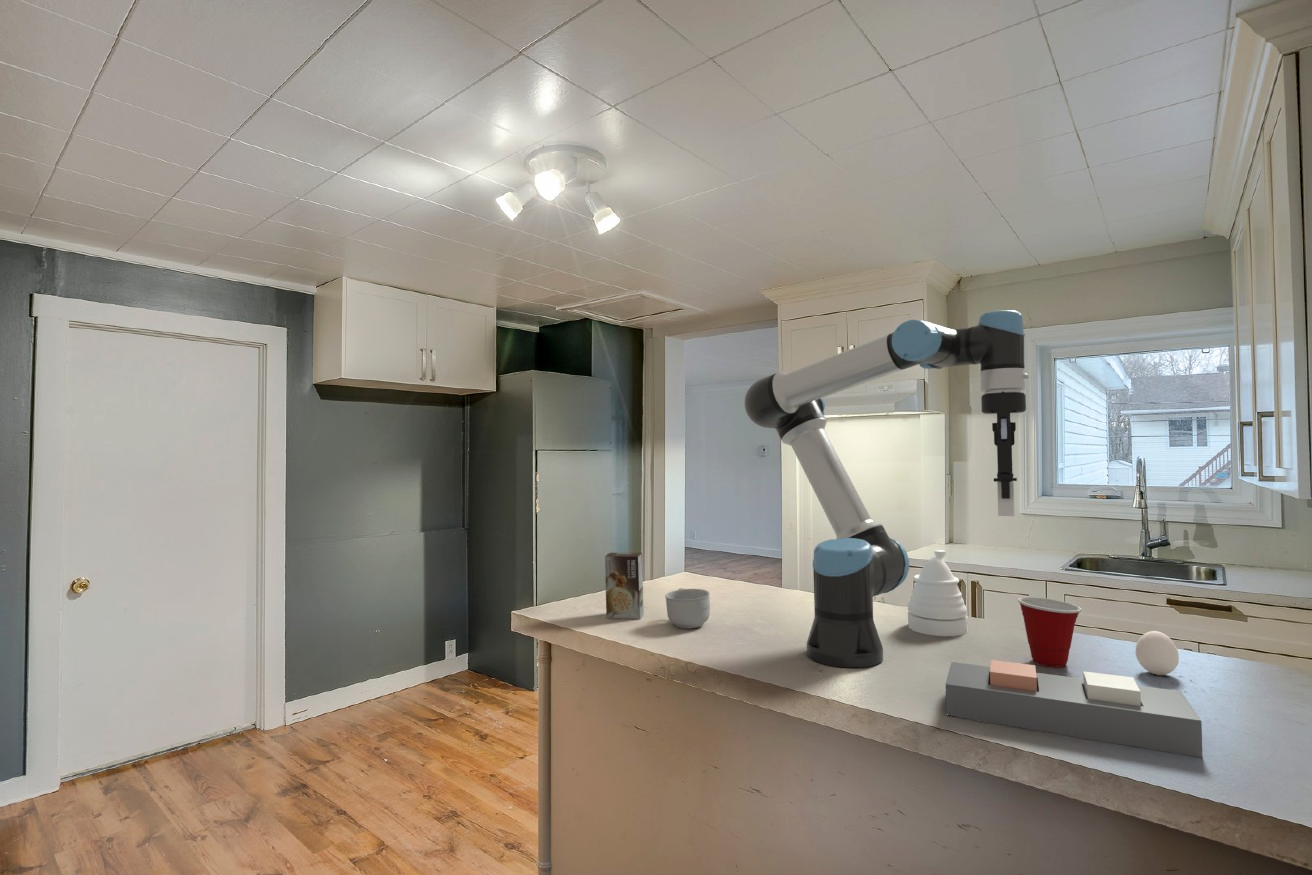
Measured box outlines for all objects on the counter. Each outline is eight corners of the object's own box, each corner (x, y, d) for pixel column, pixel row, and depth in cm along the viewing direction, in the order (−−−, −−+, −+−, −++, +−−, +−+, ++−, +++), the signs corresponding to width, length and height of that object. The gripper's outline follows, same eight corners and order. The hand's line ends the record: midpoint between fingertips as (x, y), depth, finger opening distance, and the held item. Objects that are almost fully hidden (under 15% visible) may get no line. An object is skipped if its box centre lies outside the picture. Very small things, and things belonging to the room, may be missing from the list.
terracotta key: (990, 696, 104) (990, 671, 104) (991, 683, 109) (991, 659, 109) (1037, 703, 101) (1036, 677, 101) (1035, 690, 106) (1035, 665, 106)
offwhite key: (1088, 711, 98) (1087, 684, 98) (1084, 696, 103) (1083, 671, 103) (1141, 719, 94) (1140, 691, 95) (1133, 703, 100) (1133, 677, 100)
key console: (946, 715, 104) (945, 683, 104) (952, 690, 115) (951, 661, 115) (1202, 757, 89) (1201, 720, 89) (1182, 724, 100) (1181, 691, 100)
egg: (1127, 669, 124) (1126, 627, 124) (1158, 667, 125) (1157, 626, 125) (1156, 681, 118) (1154, 636, 118) (1188, 679, 118) (1187, 635, 118)
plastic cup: (1094, 673, 122) (1092, 609, 122) (1030, 670, 124) (1028, 607, 124) (1069, 655, 132) (1067, 596, 133) (1011, 653, 135) (1009, 594, 135)
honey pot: (926, 618, 163) (924, 546, 163) (978, 629, 153) (976, 551, 153) (897, 627, 155) (895, 551, 155) (950, 639, 145) (948, 558, 145)
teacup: (711, 631, 154) (711, 597, 154) (665, 632, 154) (665, 598, 155) (707, 616, 168) (707, 585, 168) (665, 616, 168) (665, 585, 168)
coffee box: (644, 613, 172) (643, 552, 173) (640, 619, 166) (639, 556, 166) (610, 612, 174) (609, 551, 174) (605, 618, 167) (604, 555, 168)
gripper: (1026, 388, 118) (1029, 519, 118) (1024, 393, 129) (1027, 513, 129) (979, 391, 122) (983, 518, 121) (982, 395, 133) (985, 511, 133)
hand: (1006, 515), depth 125 cm, fingers closed
